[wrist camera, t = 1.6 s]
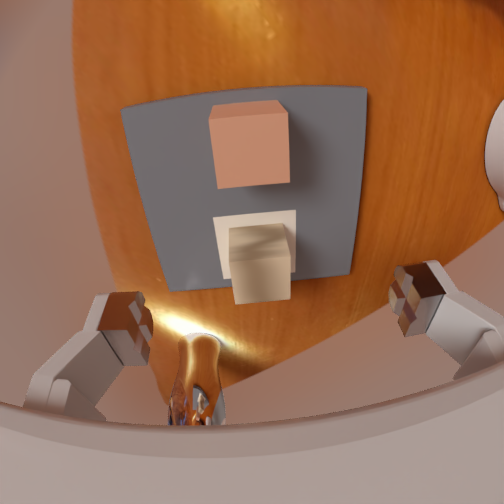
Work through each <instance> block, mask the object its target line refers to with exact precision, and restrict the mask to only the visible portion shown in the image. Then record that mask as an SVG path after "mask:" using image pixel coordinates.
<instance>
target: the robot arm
mask: <svg viewBox="0 0 504 504" xmlns="http://www.w3.org/2000/svg"><path fill="white" fill-rule="evenodd" d="M485 167H486V173H487V176H488V179H489V182H490V184H491V186H492V187H493V189H494V190H495V191H496V193H497V195H498V199H499V205H500V209H501V210H502V211H504V100H503V101H502V103H501V104H500V105H499V107H498V108H497V110H496V112H495V114H494V116H493V119H492V121H491V124H490V127H489V130H488V135H487V139H486V146H485ZM394 277H395V279H396V280H395V281H394V282H393V283H392V284H391V285H390V289H389V303H390V306H391V308H392V311H393V312H394V313H395V314H397V315H398V316H399V319H398V324H399V326H400V328H401V330H402V332H403V335H404V337H407V336H412V335H418V334H423V333H426V335H427V336H428V337H429V338H431V339H432V340H433V341H434V342H435V343H436V344H438V345H439V346H440V347H441V348H442V349H443V350H444V351H446V352H447V353H448V354H449V355H450V356H451V357H452V358H453V359H455V360H456V361H457V362H458V363H459V364H460V365H461V367H460V368H459V370H458V371H457V372H456V373H455V375H454V377H453V379H454V381H451V382H448V383H445V384H442V385H439V386H437V387H434V388H430V389H427V390H424V391H421V392H417V393H414V394H410V395H407V396H403V397H400V398H396V399H392V400H388V401H384V402H381V403H376V404H372V405H368V406H363V407H359V408H354V409H349V410H344V411H339V412H333V413H328V414H322V415H316V416H309V417H302V418H295V419H287V420H279V421H269V422H259V423H247V424H231V425H201V426H174V425H145V424H129V423H118V422H108V421H106V418H105V417H104V415H103V414H102V413H101V412H99V411H98V410H97V409H96V408H95V405H96V404H97V403H98V401H99V400H100V399H101V397H102V396H103V395H104V393H105V392H106V391H107V389H108V388H109V386H110V385H111V384H112V383H113V381H114V380H115V379H116V377H117V376H118V375H119V373H120V372H121V371H122V369H123V368H124V366H146V365H148V359H149V353H150V347H149V345H148V343H147V342H148V341H149V340H150V339H151V338H152V336H153V319H152V315H151V312H150V310H149V309H148V308H146V307H145V306H144V303H145V298H144V296H143V294H142V292H139V291H137V292H113V293H98V294H97V295H96V296H95V299H94V301H93V304H92V307H91V309H90V312H89V314H88V317H87V320H86V322H85V325H84V328H83V331H79V332H77V333H76V334H75V335H74V336H73V337H72V338H71V339H70V340H69V341H68V342H67V343H66V344H64V345H63V346H62V347H61V348H60V349H59V350H58V351H57V352H56V353H55V354H54V355H53V356H52V357H51V358H50V359H49V360H48V361H47V362H46V363H45V364H44V365H43V366H41V367H40V368H39V370H37V371H36V372H35V373H34V374H33V377H32V380H31V383H30V386H29V389H28V392H27V395H26V398H25V402H24V405H23V407H20V406H15V405H12V404H7V403H4V402H0V504H504V317H503V316H502V315H500V314H499V313H497V312H496V311H494V310H492V309H491V308H489V307H488V306H486V305H484V304H483V303H481V302H479V301H478V300H476V299H475V298H473V297H471V296H470V295H468V294H466V293H465V292H463V291H461V292H459V291H458V289H457V288H456V286H455V285H454V283H453V282H452V280H451V279H450V277H449V276H448V275H447V273H446V272H445V270H444V269H443V267H442V266H441V265H440V263H439V262H438V261H436V260H431V261H425V262H419V263H412V264H405V265H398V266H397V267H396V269H395V271H394Z"/></svg>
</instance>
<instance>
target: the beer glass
mask: <svg viewBox="0 0 504 504" xmlns="http://www.w3.org/2000/svg"><path fill="white" fill-rule="evenodd" d="M178 348H179V357H180V361H179V368H178V372H177V376H176V379H175V382H174V386H173V389H172V393H171V397H170V401H169V409H168V425H174V426H201V425H226V414H225V402H224V396H223V391H222V386H221V382H220V377H219V369H218V364H219V357H220V353H221V348H222V346H221V343H220V341H219V340H218V339H217V338H215V337H214V336H212V335H209V334H205V333H190V334H187V335H185V336H183V337H182V338H181V339H180V340H179V342H178Z"/></svg>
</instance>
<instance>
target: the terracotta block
mask: <svg viewBox="0 0 504 504" xmlns="http://www.w3.org/2000/svg"><path fill="white" fill-rule="evenodd" d="M209 128H210V135H211V143H212V151H213V158H214V165H215V172H216V180H217V187H218V189H223V188H233V187H243V186H254V185H266V184H278V183H290V162H289V129H288V112H287V111H286V110H285V109H284V107H283V106H282V105H281V104H280V103H279V101H278V100H268V101H253V102H242V103H231V104H222V105H213V107H212V110H211V113H210V116H209Z"/></svg>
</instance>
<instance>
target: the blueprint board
mask: <svg viewBox="0 0 504 504" xmlns="http://www.w3.org/2000/svg"><path fill="white" fill-rule="evenodd" d="M268 100H278V101H279V103H280V104H281V105H282V106H283V107H284V109H285V110H286V111H287V112H288V129H289V162H290V183H278V184H266V185H254V186H243V187H233V188H223V189H218V187H217V180H216V172H215V165H214V158H213V151H212V143H211V135H210V128H209V116H210V113H211V110H212V107H213V105H222V104H231V103H242V102H253V101H268ZM366 109H367V88H364V87H362V86H340V85H291V86H268V87H253V88H241V89H230V90H221V91H212V92H204V93H197V94H190V95H184V96H178V97H172V98H166V99H161V100H155V101H150V102H145V103H141V104H136V105H131V106H127V107H124V108H123V109H121V110H120V111H121V116H122V120H123V125H124V130H125V134H126V139H127V143H128V148H129V152H130V156H131V160H132V165H133V169H134V173H135V177H136V180H137V184H138V188H139V192H140V196H141V199H142V203H143V207H144V210H145V214H146V217H147V221H148V224H149V228H150V231H151V234H152V238H153V241H154V244H155V248H156V251H157V254H158V257H159V260H160V263H161V266H162V270H163V273H164V276H165V279H166V282H167V285H168V288H169V290H170V292H171V291H185V290H197V289H209V288H221V287H232V280H231V274H230V267H229V228H234V227H244V226H255V225H265V224H277V223H282V224H283V228H284V232H285V236H286V240H287V244H288V248H289V252H290V256H291V274H290V281H294V280H304V279H313V278H322V277H331V276H339V275H348V274H349V273H350V267H351V261H352V254H353V247H354V241H355V233H356V226H357V218H358V210H359V201H360V192H361V182H362V171H363V160H364V146H365V130H366Z"/></svg>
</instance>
